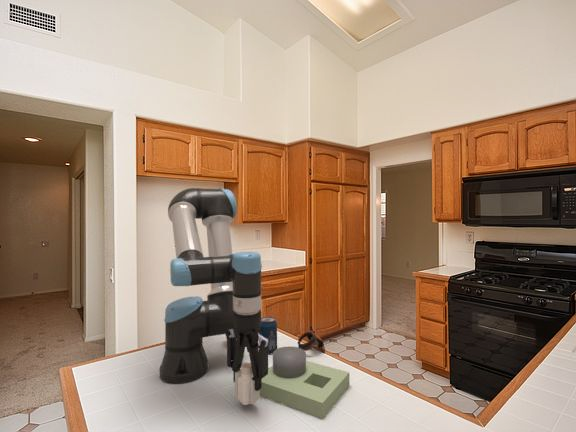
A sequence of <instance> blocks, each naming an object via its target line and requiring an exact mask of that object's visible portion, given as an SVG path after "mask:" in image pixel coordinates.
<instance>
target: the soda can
mask: <svg viewBox="0 0 576 432" xmlns="http://www.w3.org/2000/svg"><path fill="white" fill-rule="evenodd" d="M260 332H261V336H263V337H264V338H269V339H270V343H269V346H268V355H273V352H274V351H275V350H276V349H278V323H277V320H276V318H275V317H273V316H263V317H261V326H260Z"/></svg>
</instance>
